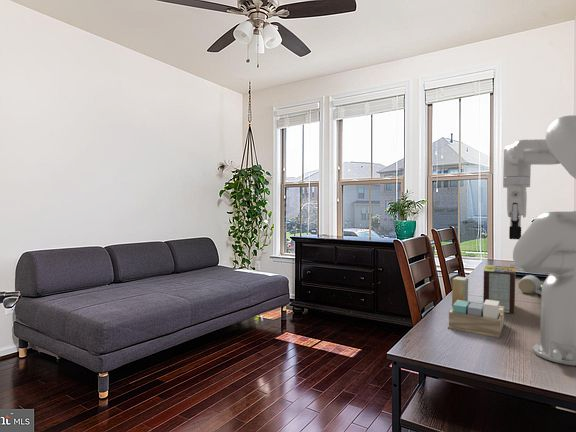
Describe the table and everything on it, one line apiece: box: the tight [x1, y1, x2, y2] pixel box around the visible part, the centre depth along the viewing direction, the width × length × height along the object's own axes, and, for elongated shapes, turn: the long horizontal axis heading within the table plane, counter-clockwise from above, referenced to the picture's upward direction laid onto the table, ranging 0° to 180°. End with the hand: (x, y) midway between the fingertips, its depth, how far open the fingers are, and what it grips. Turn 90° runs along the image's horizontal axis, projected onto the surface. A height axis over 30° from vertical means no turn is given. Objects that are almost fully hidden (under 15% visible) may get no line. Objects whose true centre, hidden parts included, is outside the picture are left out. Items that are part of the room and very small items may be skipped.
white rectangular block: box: [483, 299, 499, 319], centre depth 116 cm, size 7×4×5 cm, turn 145°
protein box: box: [482, 264, 516, 315], centre depth 143 cm, size 10×15×16 cm
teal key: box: [453, 301, 470, 315], centre depth 122 cm, size 7×4×5 cm, turn 145°
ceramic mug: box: [517, 274, 542, 296], centre depth 168 cm, size 11×8×8 cm
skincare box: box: [451, 276, 469, 309], centre depth 140 cm, size 6×4×12 cm
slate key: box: [468, 301, 483, 317], centre depth 119 cm, size 7×4×5 cm, turn 145°
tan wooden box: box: [447, 300, 505, 339], centre depth 121 cm, size 16×15×6 cm
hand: (515, 238), depth 119 cm, fingers closed
